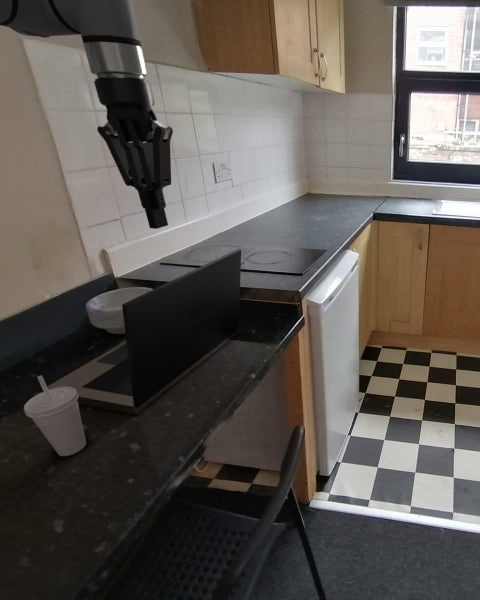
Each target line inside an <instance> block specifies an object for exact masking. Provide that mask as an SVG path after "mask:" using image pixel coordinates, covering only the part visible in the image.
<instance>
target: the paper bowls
mask: <svg viewBox="0 0 480 600" xmlns="http://www.w3.org/2000/svg"><path fill="white" fill-rule="evenodd" d="M153 289H154V288H151V287H145V286H144V287H141V286H136V287H133V286H132V287H125V288H124V287H123V288H118V289H114V290H109V291H106V292H103V293H100V294H98V295H96V296H94V297H92V298H91V299H89V300H88V301H87V302H86V304H85V310H86V313H87V316H88V318H89V321H90V324H91V325H92V326H93V327H95V328H99V329H102V330H103V329H104V331H106V332H108V333H109V334H114V335H126V334H125V326H124V317H123V308H122V304H124V303H126V302H128V301H131V300H133V299H135V298H137V297H139V296H141V295H143V294H145V293H147V292H149V291H151V290H153Z"/></svg>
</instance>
